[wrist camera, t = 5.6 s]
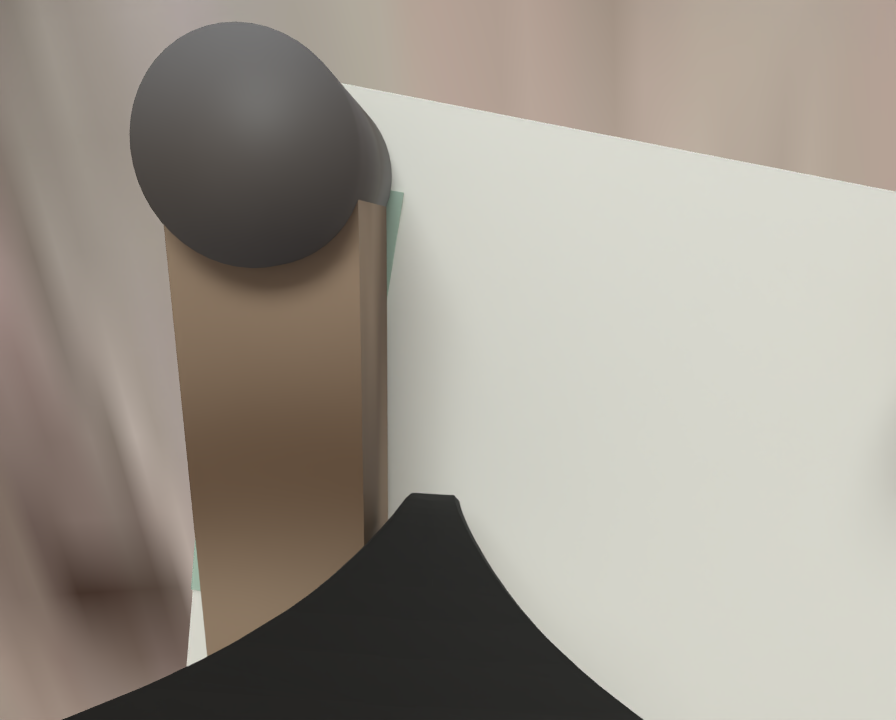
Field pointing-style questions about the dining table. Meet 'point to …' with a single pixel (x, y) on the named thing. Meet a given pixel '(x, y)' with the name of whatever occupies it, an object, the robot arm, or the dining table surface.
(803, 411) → the stool seat
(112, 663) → the dining table surface
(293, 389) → the hammer
